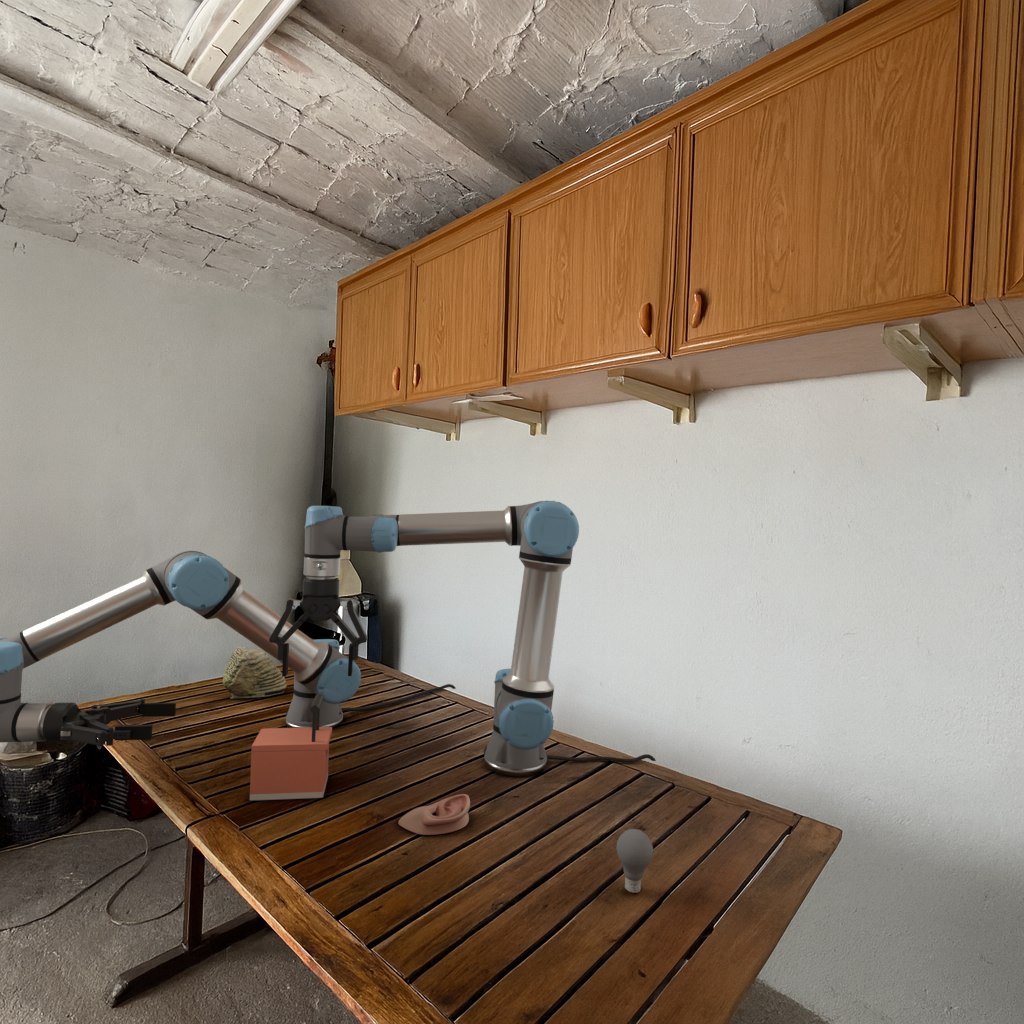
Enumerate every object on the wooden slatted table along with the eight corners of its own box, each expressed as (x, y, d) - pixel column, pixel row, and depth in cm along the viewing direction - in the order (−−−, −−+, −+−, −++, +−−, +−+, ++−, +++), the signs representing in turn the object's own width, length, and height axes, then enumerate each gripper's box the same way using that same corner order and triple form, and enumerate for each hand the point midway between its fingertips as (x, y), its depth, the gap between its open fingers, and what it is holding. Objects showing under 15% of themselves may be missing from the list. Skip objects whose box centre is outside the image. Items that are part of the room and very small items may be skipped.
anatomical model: (392, 810, 121) (414, 784, 132) (391, 830, 121) (413, 803, 132) (459, 820, 118) (475, 792, 130) (458, 841, 118) (474, 812, 130)
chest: (327, 777, 143) (329, 732, 143) (322, 797, 133) (324, 750, 133) (259, 779, 140) (261, 734, 140) (249, 800, 131) (251, 752, 131)
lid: (332, 732, 143) (333, 692, 143) (327, 749, 133) (329, 706, 133) (261, 734, 140) (263, 693, 140) (251, 751, 131) (253, 707, 130)
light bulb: (610, 879, 108) (613, 822, 108) (644, 879, 109) (647, 822, 109) (619, 902, 102) (622, 840, 102) (655, 901, 103) (658, 840, 103)
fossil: (218, 695, 195) (220, 647, 195) (278, 685, 208) (279, 640, 207) (228, 703, 189) (230, 653, 188) (289, 692, 201) (290, 645, 201)
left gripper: (80, 719, 141) (183, 717, 144) (13, 766, 116) (139, 762, 120) (81, 685, 140) (184, 684, 144) (14, 725, 116) (140, 723, 120)
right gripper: (257, 578, 131) (253, 679, 131) (380, 580, 135) (376, 679, 136) (264, 573, 138) (260, 670, 139) (380, 576, 143) (377, 669, 143)
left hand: (164, 720), depth 132 cm, fingers open, 13 cm apart
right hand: (317, 674), depth 137 cm, fingers open, 13 cm apart
